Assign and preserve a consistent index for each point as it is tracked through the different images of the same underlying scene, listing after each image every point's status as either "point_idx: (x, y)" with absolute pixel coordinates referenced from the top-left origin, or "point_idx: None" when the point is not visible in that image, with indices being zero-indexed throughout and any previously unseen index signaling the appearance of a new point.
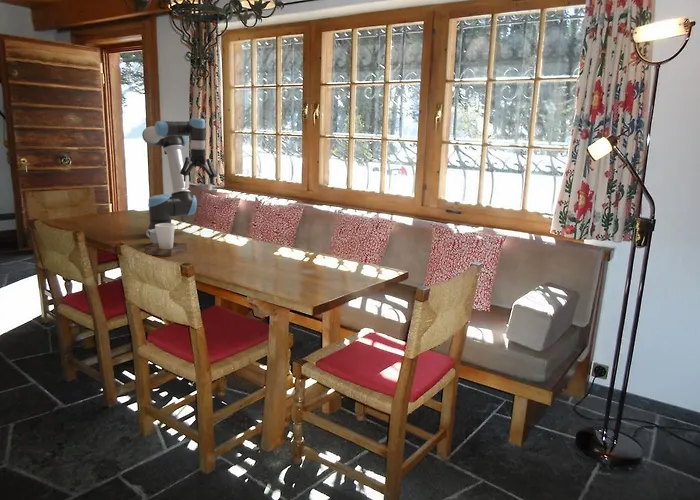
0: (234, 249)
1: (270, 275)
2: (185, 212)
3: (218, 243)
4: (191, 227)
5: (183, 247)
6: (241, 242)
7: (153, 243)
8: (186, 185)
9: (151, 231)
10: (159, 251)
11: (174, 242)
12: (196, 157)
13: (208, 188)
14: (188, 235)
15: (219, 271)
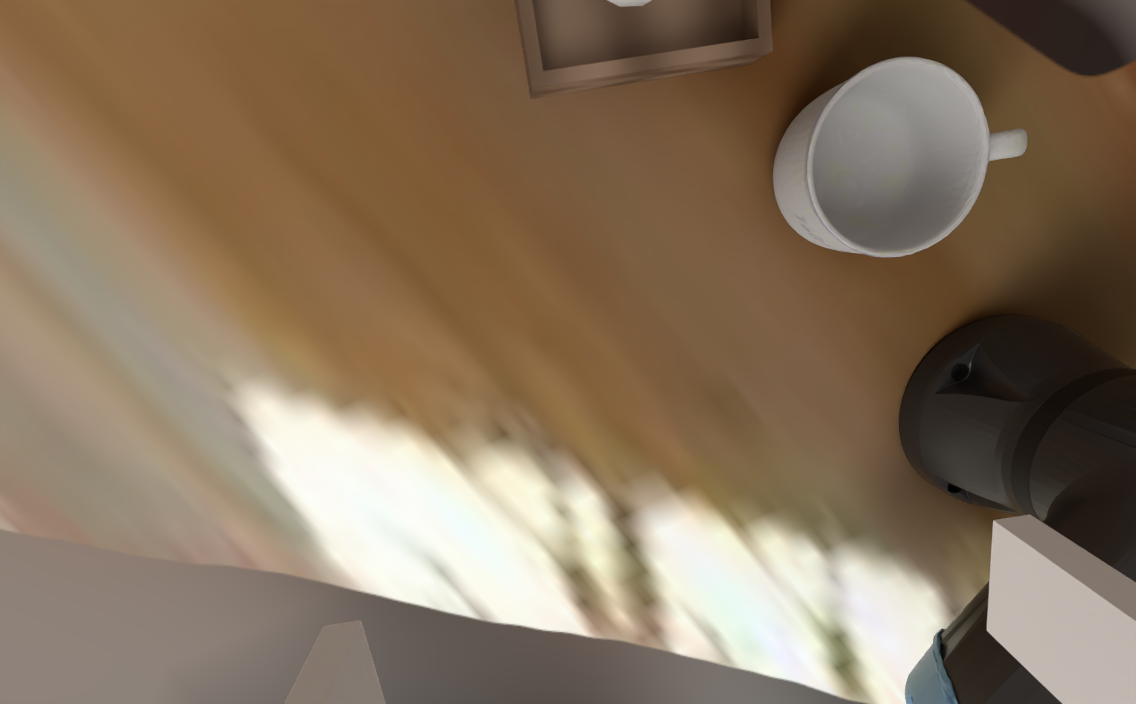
0: (209, 277)
1: None
2: (961, 621)
3: (456, 385)
4: None
5: (522, 39)
6: (329, 486)
7: (867, 110)
8: (1057, 568)
9: (970, 136)
10: None
11: (639, 60)
12: None
13: (341, 658)
14: (812, 490)
15: None
